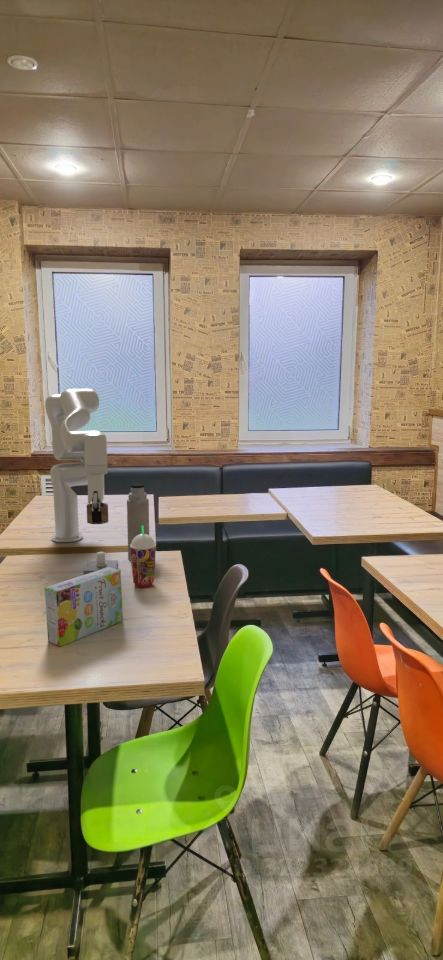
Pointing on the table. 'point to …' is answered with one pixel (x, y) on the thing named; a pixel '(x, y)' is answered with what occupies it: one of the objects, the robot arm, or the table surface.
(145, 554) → the smoothie
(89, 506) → the walnut ring
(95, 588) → the snack box
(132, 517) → the thermos bottle
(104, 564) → the post stand
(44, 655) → the table surface
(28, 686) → the table surface
